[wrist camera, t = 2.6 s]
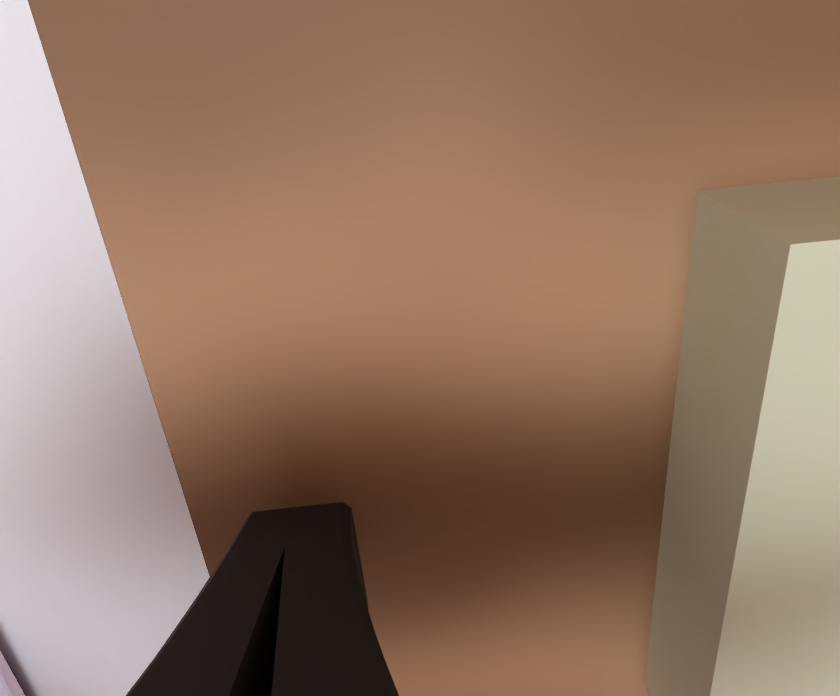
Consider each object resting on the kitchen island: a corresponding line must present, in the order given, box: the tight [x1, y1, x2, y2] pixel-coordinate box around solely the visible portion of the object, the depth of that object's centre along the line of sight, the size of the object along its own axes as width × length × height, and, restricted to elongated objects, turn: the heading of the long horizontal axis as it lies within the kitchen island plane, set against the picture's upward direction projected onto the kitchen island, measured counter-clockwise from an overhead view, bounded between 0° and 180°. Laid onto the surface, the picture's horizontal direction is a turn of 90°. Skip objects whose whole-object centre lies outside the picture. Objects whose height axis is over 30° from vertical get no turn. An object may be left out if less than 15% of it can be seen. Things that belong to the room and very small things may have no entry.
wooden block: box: [28, 0, 840, 696], centre depth 12 cm, size 24×16×4 cm, turn 5°
